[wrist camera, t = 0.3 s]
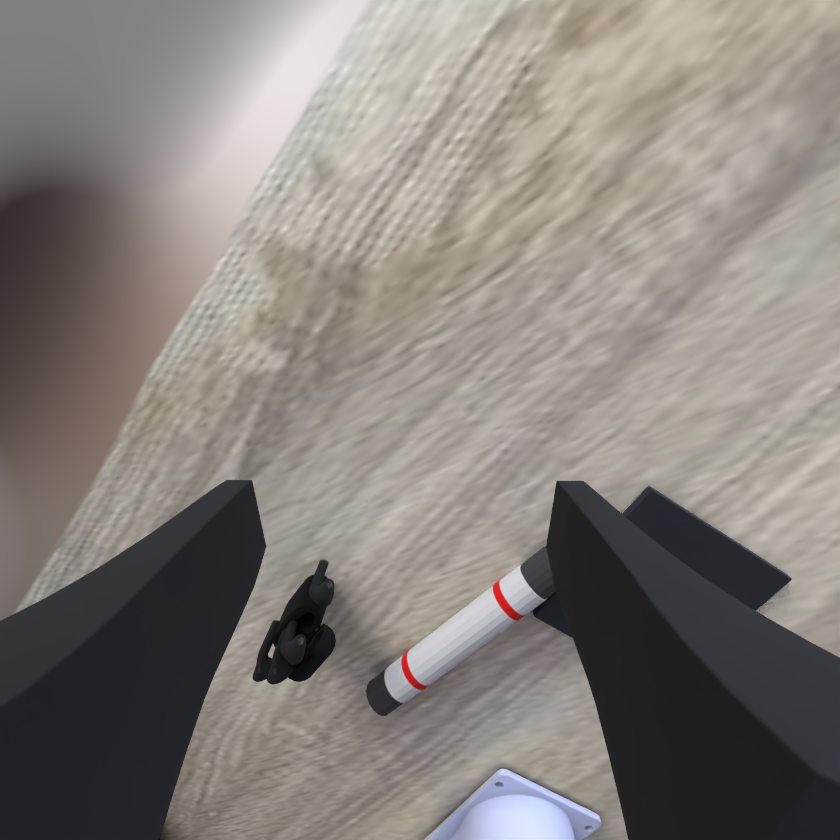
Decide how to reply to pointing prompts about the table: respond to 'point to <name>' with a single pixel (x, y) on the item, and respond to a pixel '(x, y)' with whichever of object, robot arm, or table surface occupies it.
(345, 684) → the table surface
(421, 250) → the table surface
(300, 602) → the wireless earbuds
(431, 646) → the marker
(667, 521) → the coaster
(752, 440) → the table surface
